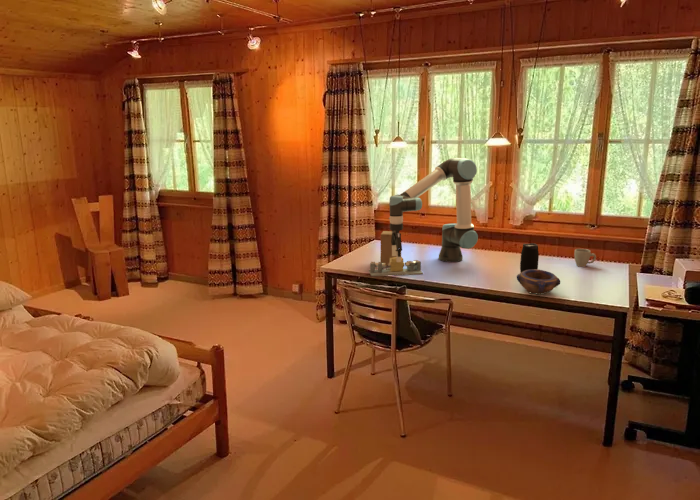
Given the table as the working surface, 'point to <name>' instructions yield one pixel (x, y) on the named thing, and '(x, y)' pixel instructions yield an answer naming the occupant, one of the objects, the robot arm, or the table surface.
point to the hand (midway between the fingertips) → (396, 258)
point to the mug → (583, 257)
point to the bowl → (538, 281)
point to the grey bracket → (379, 265)
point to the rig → (387, 272)
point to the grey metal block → (413, 265)
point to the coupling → (396, 265)
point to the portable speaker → (529, 257)
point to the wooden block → (386, 247)
